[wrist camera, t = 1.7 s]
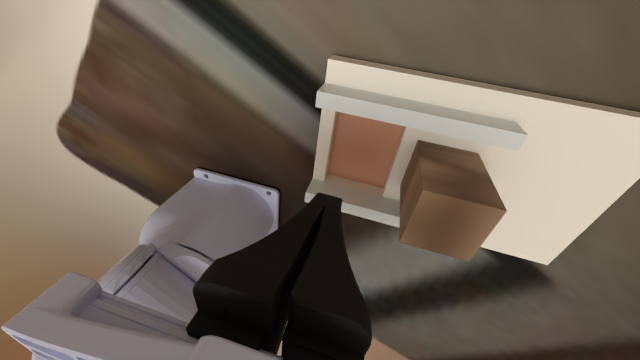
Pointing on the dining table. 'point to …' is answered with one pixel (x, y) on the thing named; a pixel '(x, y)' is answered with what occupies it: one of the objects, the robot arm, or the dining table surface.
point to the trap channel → (474, 149)
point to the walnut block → (447, 201)
